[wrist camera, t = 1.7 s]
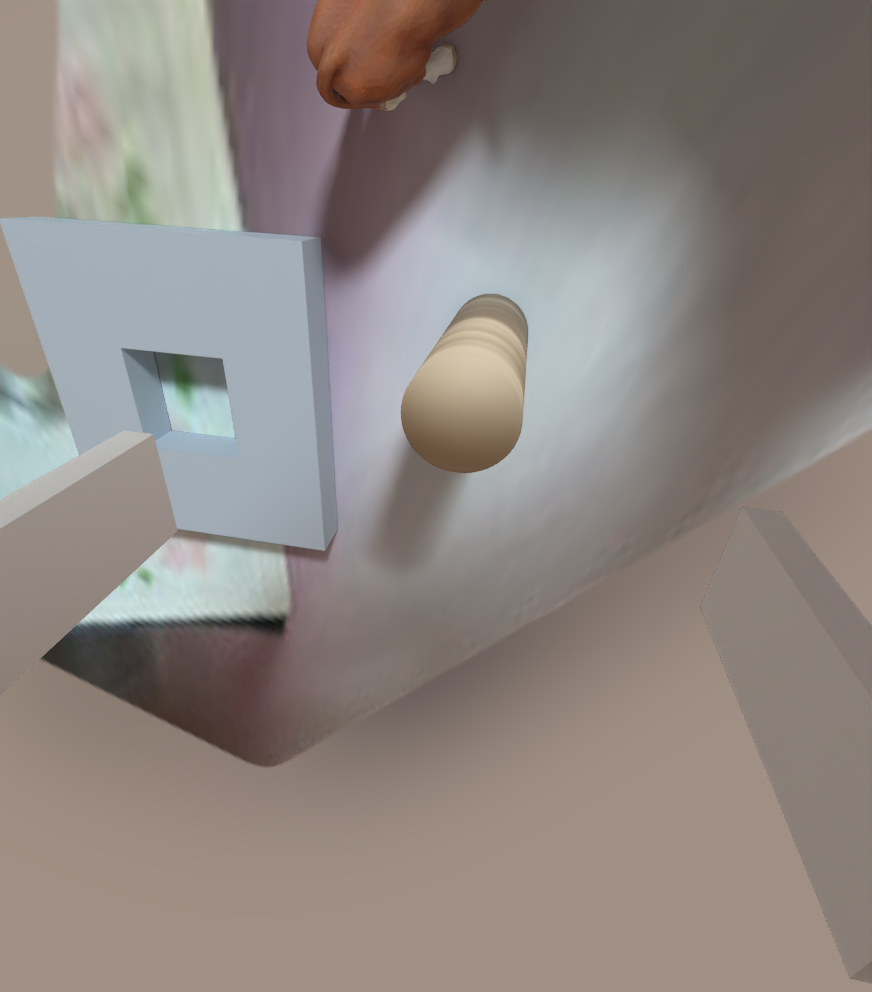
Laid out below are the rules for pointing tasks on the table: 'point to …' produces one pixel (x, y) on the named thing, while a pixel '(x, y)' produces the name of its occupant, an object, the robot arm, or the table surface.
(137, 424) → the socket board
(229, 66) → the table surface
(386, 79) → the bull figurine
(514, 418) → the peg
